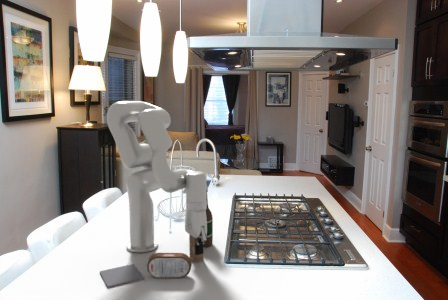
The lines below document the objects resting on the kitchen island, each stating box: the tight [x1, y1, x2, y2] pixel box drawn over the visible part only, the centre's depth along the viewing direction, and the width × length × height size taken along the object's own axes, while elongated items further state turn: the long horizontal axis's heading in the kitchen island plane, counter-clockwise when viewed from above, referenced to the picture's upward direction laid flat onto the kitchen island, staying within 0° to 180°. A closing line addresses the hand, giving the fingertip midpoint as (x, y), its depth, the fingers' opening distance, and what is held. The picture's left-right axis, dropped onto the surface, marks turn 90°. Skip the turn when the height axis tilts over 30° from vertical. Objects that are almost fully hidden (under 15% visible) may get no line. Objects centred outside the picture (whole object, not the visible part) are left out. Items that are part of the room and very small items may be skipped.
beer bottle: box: [204, 187, 214, 249], centre depth 151 cm, size 8×8×24 cm
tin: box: [146, 252, 193, 279], centre depth 124 cm, size 15×3×8 cm, turn 92°
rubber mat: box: [99, 263, 145, 289], centre depth 125 cm, size 12×12×1 cm
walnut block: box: [188, 234, 205, 264], centre depth 137 cm, size 4×4×11 cm
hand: (196, 251), depth 138 cm, fingers closed on walnut block, 4 cm apart
